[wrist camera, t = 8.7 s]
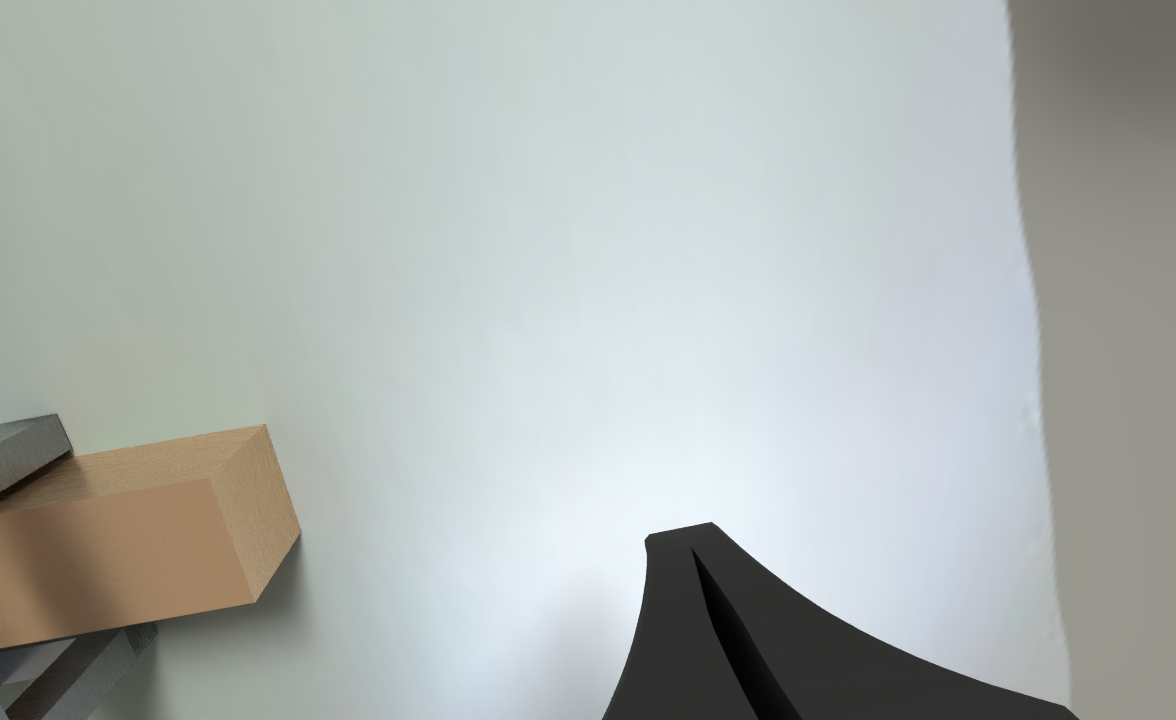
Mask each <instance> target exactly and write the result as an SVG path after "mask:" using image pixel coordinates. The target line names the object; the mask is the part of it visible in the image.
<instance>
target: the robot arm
mask: <svg viewBox="0 0 1176 720" xmlns="http://www.w3.org/2000/svg"><path fill="white" fill-rule="evenodd" d="M645 547H646V552H647V570H646V581H645V587H644V594H643V601H642V606H641V611H640V615H639V619H638V623H637V627H636V631H635V635H634V639H633V643H632V646H631V649H630V652H629V655H628V658H627V661H626V664H625V667H624V670H623V672H622V675H621V678H620V680H619V683H618V685H617V687H616V690H615V692H614V694H613V697H612V699H611V701H610V704H609V706H608V708H607V710H606V712H605V714H604V717H603V719H602V720H1079V719H1078V718H1077V717H1076V716H1075V715H1074V714H1073V713H1072V712H1071V711H1069V710H1068V709H1067V708H1066V707H1065V706H1062V705H1059V704H1055V703H1052V702H1048V701H1045V700H1041V699H1038V698H1035V697H1031V696H1028V695H1024V694H1021V693H1017V692H1014V691H1011V690H1007V689H1004V688H1000V687H997V686H993V685H990V684H987V683H984V682H981V681H979V680H976V679H973V678H970V677H968V676H965V675H962V674H959V673H957V672H954V671H951V670H948V669H946V668H943V667H940V666H938V665H935V664H933V663H931V662H928V661H926V660H923V659H921V658H918V657H916V656H914V655H911V654H909V653H907V652H905V651H903V650H900V649H898V648H896V647H894V646H892V645H890V644H887V643H885V642H883V641H881V640H879V639H877V638H875V637H873V636H871V635H869V634H867V633H865V632H863V631H861V630H859V629H857V628H856V627H854V626H852V625H850V624H848V623H847V622H845V621H843V620H841V619H839V618H838V617H836V616H834V615H832V614H831V613H829V612H827V611H826V610H824V609H822V608H821V607H819V606H818V605H816V604H815V603H813V602H812V601H810V600H809V599H807V598H806V597H804V596H803V595H801V594H800V593H799V592H797V591H796V590H794V589H793V588H792V587H790V586H789V585H787V584H786V583H785V582H783V581H782V580H781V579H779V578H778V577H777V576H776V575H774V574H773V573H772V572H770V571H769V570H768V569H767V568H765V567H764V566H763V565H761V564H760V563H759V562H758V561H756V560H755V559H754V558H753V557H752V556H750V555H749V554H748V553H747V552H746V551H745V550H743V549H742V548H741V547H740V546H739V545H738V544H737V543H735V542H734V541H733V540H732V539H731V538H730V537H729V536H728V535H727V534H726V533H724V532H723V531H722V530H721V529H720V528H719V527H718V526H717V525H715V524H714V523H712V522H709V523H704V524H699V525H694V526H689V527H684V528H679V529H674V530H669V531H664V532H659V533H654V534H649V535H648V537H647V538H646V539H645Z"/></svg>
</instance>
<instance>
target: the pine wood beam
mask: <svg viewBox="0 0 1176 720" xmlns="http://www.w3.org/2000/svg"><path fill="white" fill-rule="evenodd" d="M300 533H301V529H300V526H299V523H298V520H297V517H296V514H295V511H294V508H293V505H292V502H291V499H290V496H289V493H288V490H287V487H286V484H285V481H284V478H283V475H282V472H281V469H280V466H279V463H278V460H277V457H276V454H275V451H274V448H273V445H272V442H271V439H270V436H269V433H268V430H267V427H266V424H262V425H256V426H250V427H244V428H238V429H233V430H227V431H221V432H215V433H209V434H204V435H198V436H192V437H186V438H181V439H175V440H169V441H163V442H157V443H152V444H146V445H140V446H134V447H128V448H123V449H117V450H111V451H105V452H99V453H94V454H88V455H82V456H76V457H71V458H65V459H59V460H53V461H50V462H48V463H47V464H45V465H44V466H42V467H40V468H39V469H37V470H35V471H34V472H32V473H30V474H29V475H27V476H25V477H24V478H22V479H20V480H19V481H17V482H15V483H14V484H12V485H11V486H9V487H7V488H6V489H4V490H2V491H1V492H0V648H5V647H10V646H16V645H21V644H27V643H33V642H38V641H44V640H49V639H55V638H60V637H66V636H72V635H77V634H83V633H88V632H94V631H99V630H105V629H111V628H116V627H122V626H127V625H133V624H138V623H144V622H150V621H155V620H161V619H166V618H172V617H177V616H183V615H189V614H194V613H200V612H205V611H211V610H217V609H222V608H228V607H233V606H239V605H244V604H250V603H255V602H256V601H257V599H258V598H259V596H260V594H261V593H262V591H263V590H264V588H265V587H266V585H267V584H268V582H269V581H270V579H271V577H272V576H273V574H274V573H275V571H276V570H277V568H278V567H279V565H280V564H281V562H282V560H283V559H284V557H285V556H286V554H287V553H288V551H289V550H290V548H291V547H292V545H293V543H294V542H295V540H296V539H297V537H298V536H299V534H300Z"/></svg>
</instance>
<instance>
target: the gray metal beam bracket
mask: <svg viewBox="0 0 1176 720" xmlns="http://www.w3.org/2000/svg"><path fill="white" fill-rule="evenodd" d="M70 449H72V447H71V445H70V443H69V440H68V438H67V436H66V434H65V432H64V430H63V427H62V425H61V423H60V421H59V419H58V416H57V414H51V415H46V416H41V417H35V418H30V419H25V420H20V421H15V422H9V423H4V424H0V492H1V491H2V490H4V489H6V488H7V487H9V486H11V485H12V484H14V483H15V482H17V481H19V480H20V479H22V478H24V477H25V476H27V475H29V474H30V473H32V472H34V471H35V470H37V469H39V468H40V467H42V466H44V465H45V464H47V463H48V462H50V461H52V460H53V459H55V458H57V457H58V456H60V455H62V454H63V453H65V452H67V451H68V450H70ZM156 634H157V632H156V629H155V627H154V625H153V623H152V621H150V622H144V623H138V624H133V625H127V626H122V627H116V628H111V629H105V630H99V631H94V632H88V633H83V634H77V635H72V636H66V637H60V638H55V639H49V640H44V641H38V642H33V643H27V644H21V645H16V646H10V647H5V648H0V686H1V685H5V684H10V683H15V682H20V681H25V680H30V679H35V678H37V679H36V680H35V681H34V682H33V683H32V684H31V685H30V686H29V687H28V688H27V689H26V690H25V691H24V692H23V693H22V695H21V696H20V697H19V698H18V699H17V700H16V701H15V702H14V703H13V704H12V705H11V706H10V707H9V708H8V709H7V710H6V711H4V710H3V708H2V706H1V704H0V720H87V719H88V717H89V716H90V715H91V714H92V713H93V711H94V710H95V709H96V708H97V706H98V705H99V704H100V703H101V702H102V700H103V699H104V698H105V697H106V695H107V694H108V693H109V692H110V691H111V689H112V688H113V687H114V686H115V684H116V683H117V682H118V681H119V679H120V678H121V677H122V676H123V675H124V673H125V672H126V671H127V670H128V668H129V667H130V666H131V665H132V664H133V662H134V661H135V660H136V659H137V657H138V656H139V655H140V654H141V653H142V651H143V650H144V649H145V648H146V646H147V645H148V644H149V643H150V641H151V640H152V639H153V638H154V637H155V635H156Z"/></svg>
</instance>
